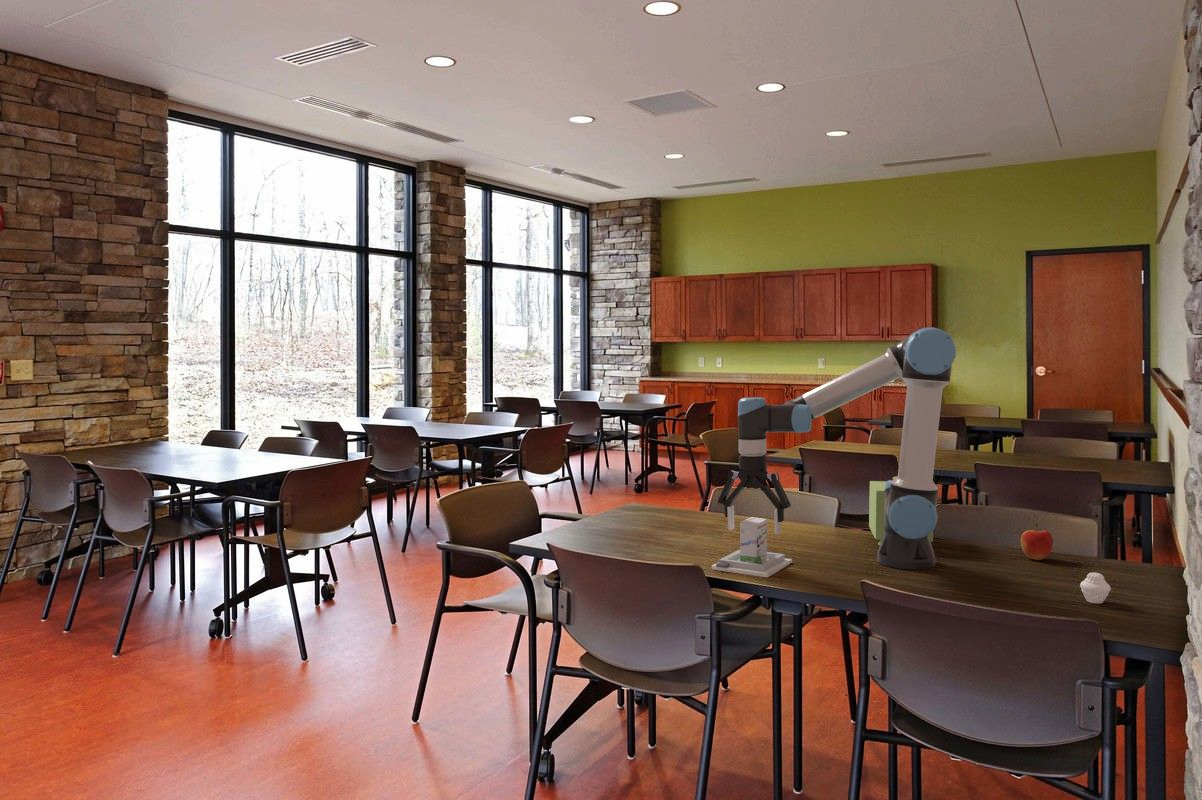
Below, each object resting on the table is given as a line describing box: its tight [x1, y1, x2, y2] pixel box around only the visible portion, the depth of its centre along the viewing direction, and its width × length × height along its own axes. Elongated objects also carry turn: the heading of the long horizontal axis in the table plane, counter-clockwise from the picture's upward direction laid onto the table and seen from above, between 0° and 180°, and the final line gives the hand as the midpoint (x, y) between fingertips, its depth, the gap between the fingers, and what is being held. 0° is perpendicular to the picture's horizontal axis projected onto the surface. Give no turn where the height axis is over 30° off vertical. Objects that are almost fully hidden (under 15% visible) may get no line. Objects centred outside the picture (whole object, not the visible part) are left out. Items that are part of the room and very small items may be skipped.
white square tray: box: [711, 549, 793, 578], centre depth 234 cm, size 16×18×2 cm
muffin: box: [1079, 571, 1112, 604], centre depth 199 cm, size 6×6×7 cm
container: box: [868, 476, 934, 546], centre depth 262 cm, size 19×16×20 cm
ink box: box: [739, 516, 768, 564], centre depth 233 cm, size 8×5×12 cm, turn 148°
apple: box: [1020, 523, 1054, 561], centre depth 239 cm, size 8×8×10 cm
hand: (754, 531), depth 233 cm, fingers open, 13 cm apart
